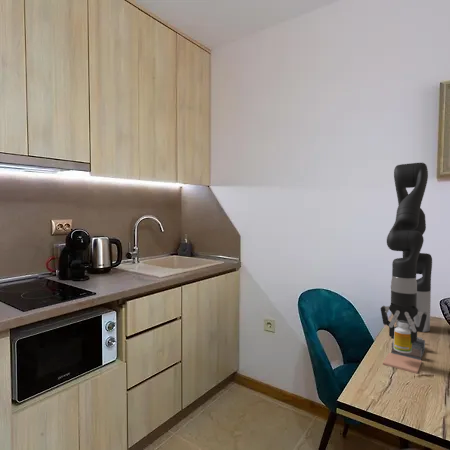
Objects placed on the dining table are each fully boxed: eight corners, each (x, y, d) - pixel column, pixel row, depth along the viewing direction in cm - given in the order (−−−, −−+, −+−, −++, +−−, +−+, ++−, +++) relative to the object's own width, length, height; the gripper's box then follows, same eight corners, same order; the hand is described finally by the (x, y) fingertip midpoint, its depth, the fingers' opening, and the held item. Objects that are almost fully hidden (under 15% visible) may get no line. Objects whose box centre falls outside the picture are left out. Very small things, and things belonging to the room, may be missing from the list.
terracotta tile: (389, 354, 115) (389, 352, 115) (421, 362, 109) (421, 360, 109) (382, 364, 108) (382, 362, 107) (417, 373, 101) (417, 371, 101)
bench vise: (400, 338, 130) (400, 330, 130) (427, 344, 124) (427, 335, 124) (391, 353, 116) (391, 343, 116) (420, 360, 111) (420, 350, 111)
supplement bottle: (413, 354, 105) (414, 325, 104) (395, 352, 106) (395, 323, 106) (409, 348, 110) (410, 320, 110) (392, 346, 112) (392, 318, 111)
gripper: (430, 291, 106) (429, 342, 107) (382, 285, 115) (382, 332, 116) (427, 295, 100) (426, 349, 101) (377, 288, 109) (376, 338, 110)
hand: (402, 339), depth 108 cm, fingers closed on supplement bottle, 5 cm apart
